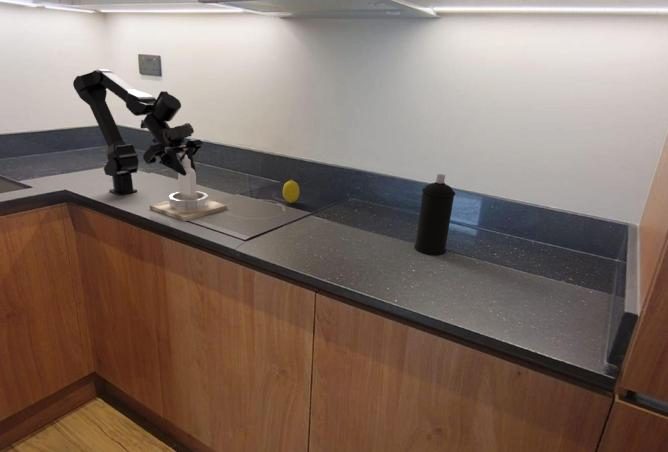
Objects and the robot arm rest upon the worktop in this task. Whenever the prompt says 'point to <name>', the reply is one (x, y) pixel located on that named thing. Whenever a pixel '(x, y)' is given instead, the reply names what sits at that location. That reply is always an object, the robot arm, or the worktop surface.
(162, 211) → the base plate
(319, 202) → the worktop surface
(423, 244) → the aerosol can
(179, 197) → the collar
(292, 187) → the lemon
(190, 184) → the eye dropper bottle
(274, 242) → the worktop surface
